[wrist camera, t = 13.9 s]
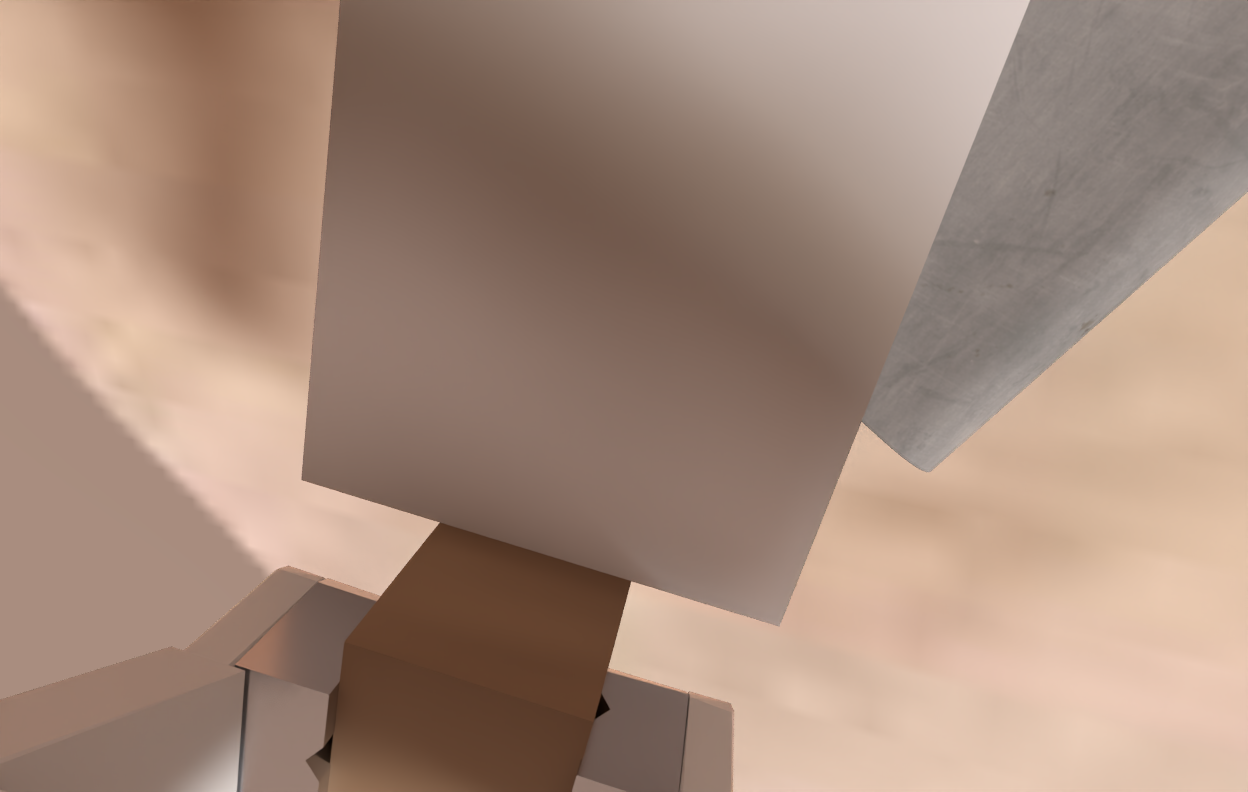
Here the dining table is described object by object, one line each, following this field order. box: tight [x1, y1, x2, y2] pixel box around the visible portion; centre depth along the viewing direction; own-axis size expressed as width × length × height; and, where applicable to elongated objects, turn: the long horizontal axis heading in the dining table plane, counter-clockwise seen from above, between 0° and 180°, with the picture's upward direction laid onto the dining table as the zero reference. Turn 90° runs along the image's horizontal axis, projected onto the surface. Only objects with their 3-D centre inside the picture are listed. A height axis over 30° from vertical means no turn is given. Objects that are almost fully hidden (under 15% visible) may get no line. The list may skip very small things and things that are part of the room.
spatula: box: [302, 0, 1030, 792], centre depth 8 cm, size 18×6×3 cm, turn 166°
